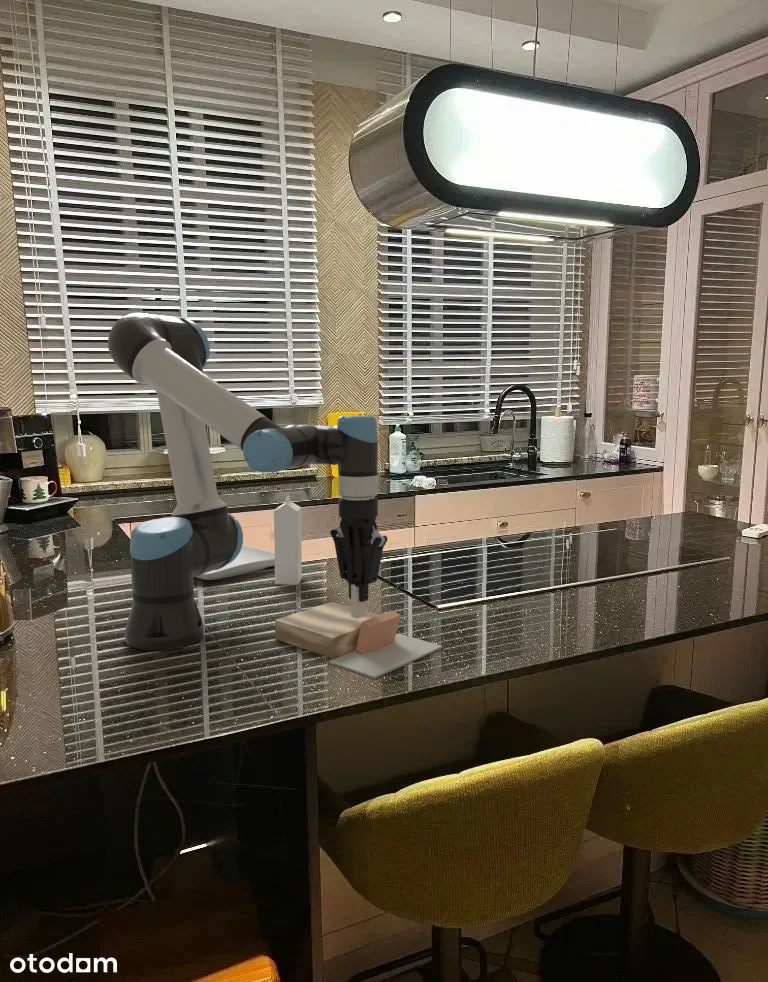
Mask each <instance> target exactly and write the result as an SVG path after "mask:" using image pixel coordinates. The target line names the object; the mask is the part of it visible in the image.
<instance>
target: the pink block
mask: <svg viewBox="0 0 768 982" xmlns="http://www.w3.org/2000/svg"><path fill="white" fill-rule="evenodd" d="M378 615H379V616H377V617H374V618H371V619H368V620H366V621H363V622H362V624H361V629H360V633H359V638H358V642H357V647H356V650H357V651H359V652H360V653H362V654H363V655H364V654H366V653H369V652H371V651H374V650H376V649H379V648H381V647H384V646H386V645H388V644H391V643H393V642H394V641H395V636H396V634H397V631H398V628H399V623H400V619H401V614H400V613H397V612H396V611H394V610H390V611H388V612H385V613H383V614H378Z"/></svg>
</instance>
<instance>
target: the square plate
mask: <svg viewBox="0 0 768 982" xmlns="http://www.w3.org/2000/svg"><path fill="white" fill-rule="evenodd" d="M273 566H274V567H275V552H273V551H269V550H265V549H261V548H257V547H251V546H247V545H243V544H242V548H241V551H240V553H239V554H238V556H237V557H236V559H235V560H233V561H232V562H231V563H229V564H227V565H226V566H224V567H222V568H221V569H218V570H212V571H210V572H207V573H204V574H201V575H199V576H196V577H195V578H196V579H199V580H204V581H205V580H206V581H217V580H223V579H228V578H231V577H236V576H240V575H244V574H248V573H253V572H257V571H262V570H264V569H267V568H271V567H273Z"/></svg>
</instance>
